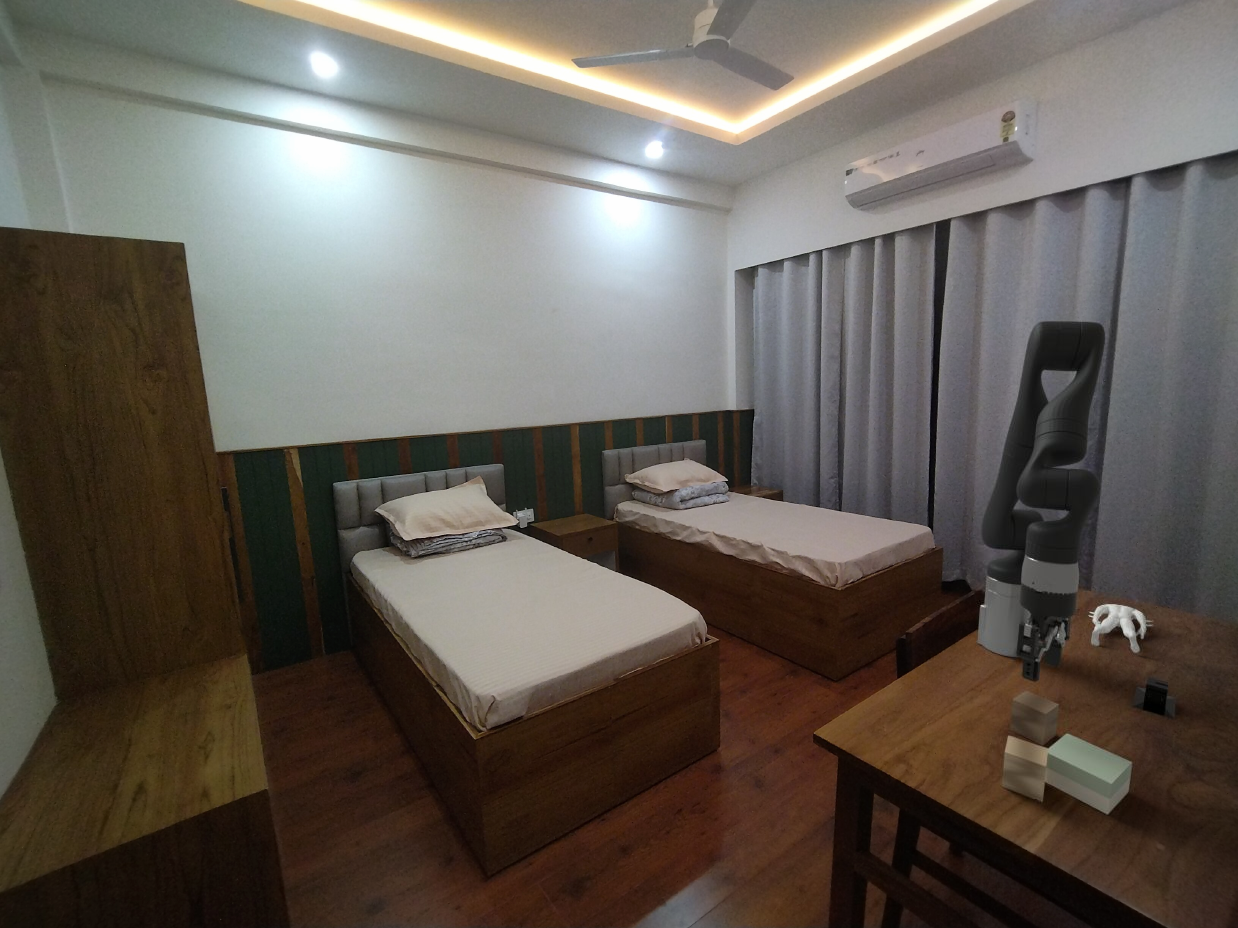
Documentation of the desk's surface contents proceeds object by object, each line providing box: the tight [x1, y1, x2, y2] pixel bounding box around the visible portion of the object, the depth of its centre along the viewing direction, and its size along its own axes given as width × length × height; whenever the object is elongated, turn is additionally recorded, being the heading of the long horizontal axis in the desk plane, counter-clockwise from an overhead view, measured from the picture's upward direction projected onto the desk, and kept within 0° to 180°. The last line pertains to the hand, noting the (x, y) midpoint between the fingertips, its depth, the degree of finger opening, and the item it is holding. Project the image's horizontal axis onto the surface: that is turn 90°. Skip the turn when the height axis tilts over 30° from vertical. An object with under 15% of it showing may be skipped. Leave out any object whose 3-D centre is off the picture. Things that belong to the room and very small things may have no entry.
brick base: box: [1045, 733, 1133, 815], centre depth 81 cm, size 8×8×5 cm
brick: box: [1001, 735, 1048, 803], centre depth 82 cm, size 5×5×6 cm
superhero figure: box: [1089, 603, 1154, 654], centre depth 129 cm, size 12×6×25 cm
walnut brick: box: [1009, 690, 1060, 746], centre depth 94 cm, size 5×5×6 cm
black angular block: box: [1132, 676, 1177, 720], centre depth 101 cm, size 12×7×5 cm, turn 133°
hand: (1041, 671), depth 92 cm, fingers open, 8 cm apart
